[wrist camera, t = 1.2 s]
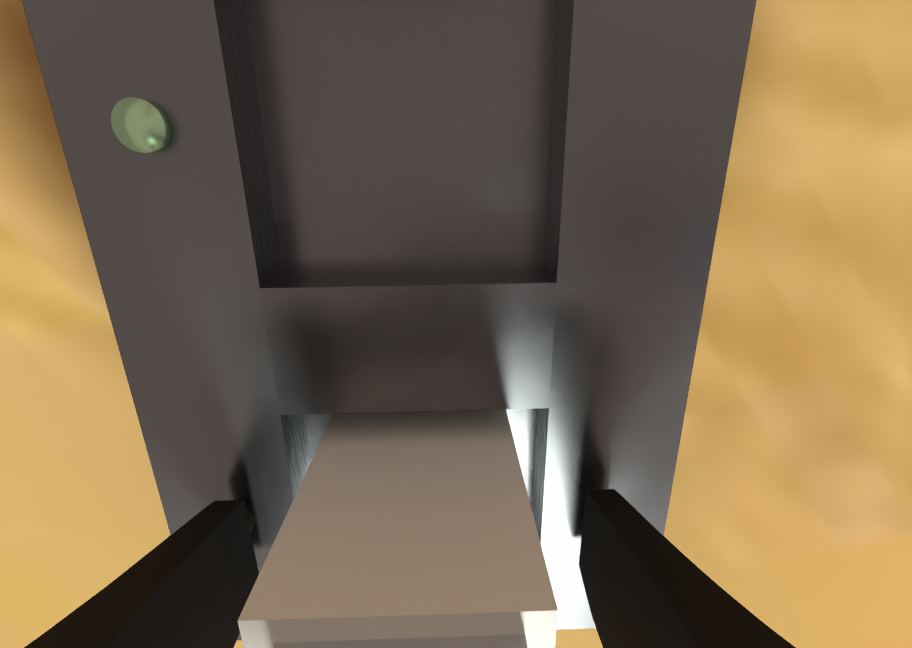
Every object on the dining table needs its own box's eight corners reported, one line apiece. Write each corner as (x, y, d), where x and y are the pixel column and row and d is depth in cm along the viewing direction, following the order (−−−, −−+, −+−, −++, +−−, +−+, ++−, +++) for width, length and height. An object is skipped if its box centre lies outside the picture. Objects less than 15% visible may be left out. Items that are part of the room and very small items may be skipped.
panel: (703, -79, 8) (794, -166, 6) (618, 560, 13) (651, 634, 11) (90, -77, 8) (-38, -166, 6) (236, 571, 13) (196, 649, 11)
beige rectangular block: (505, 409, 10) (567, 650, 5) (502, 544, 12) (549, 847, 6) (332, 414, 10) (218, 663, 5) (349, 549, 12) (270, 859, 6)
